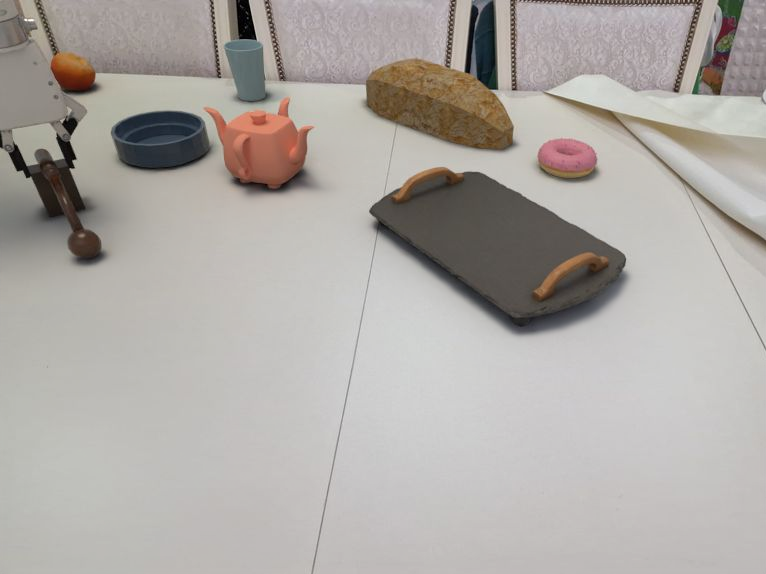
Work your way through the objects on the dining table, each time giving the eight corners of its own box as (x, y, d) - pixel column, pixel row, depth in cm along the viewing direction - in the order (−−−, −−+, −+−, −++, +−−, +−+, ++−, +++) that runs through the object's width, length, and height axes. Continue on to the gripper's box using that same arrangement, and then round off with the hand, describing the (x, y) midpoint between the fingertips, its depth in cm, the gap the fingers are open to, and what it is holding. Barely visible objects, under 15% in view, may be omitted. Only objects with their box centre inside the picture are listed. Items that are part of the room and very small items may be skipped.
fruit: (47, 77, 131) (56, 41, 127) (90, 94, 136) (99, 60, 132) (43, 90, 125) (52, 53, 122) (87, 107, 130) (97, 72, 127)
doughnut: (605, 167, 115) (610, 145, 112) (576, 187, 108) (580, 165, 105) (555, 150, 119) (558, 129, 117) (524, 168, 113) (527, 147, 110)
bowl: (114, 174, 104) (105, 148, 101) (124, 137, 114) (116, 113, 111) (209, 166, 107) (203, 141, 104) (210, 131, 118) (205, 108, 115)
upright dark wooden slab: (85, 208, 95) (68, 166, 90) (49, 217, 93) (29, 174, 88) (81, 200, 97) (64, 158, 92) (45, 208, 94) (26, 165, 90)
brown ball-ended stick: (109, 258, 85) (85, 200, 79) (77, 267, 84) (51, 208, 78) (76, 198, 97) (53, 143, 91) (47, 205, 95) (22, 149, 89)
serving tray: (355, 217, 97) (353, 180, 93) (466, 178, 109) (468, 144, 105) (528, 347, 76) (535, 307, 72) (642, 281, 88) (654, 244, 84)
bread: (352, 106, 131) (349, 56, 124) (387, 93, 138) (385, 45, 131) (490, 156, 116) (494, 102, 109) (521, 138, 123) (527, 87, 116)
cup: (278, 95, 133) (270, 44, 126) (251, 106, 128) (241, 53, 121) (254, 87, 136) (244, 37, 129) (226, 97, 131) (215, 45, 124)
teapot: (216, 166, 108) (201, 102, 100) (296, 153, 113) (288, 92, 106) (235, 203, 98) (221, 136, 91) (322, 187, 104) (314, 122, 96)
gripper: (59, 17, 83) (106, 147, 95) (-96, 33, 75) (-24, 173, 87) (72, 32, 78) (119, 166, 90) (-92, 51, 70) (-16, 195, 82)
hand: (48, 168), depth 89 cm, fingers open, 4 cm apart
